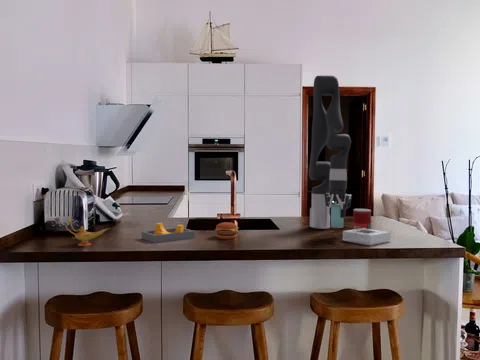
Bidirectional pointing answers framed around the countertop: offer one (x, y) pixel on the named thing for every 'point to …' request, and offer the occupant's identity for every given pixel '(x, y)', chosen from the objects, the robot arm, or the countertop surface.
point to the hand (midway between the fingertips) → (337, 216)
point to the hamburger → (226, 230)
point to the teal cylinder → (336, 216)
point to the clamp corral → (168, 235)
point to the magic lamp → (85, 234)
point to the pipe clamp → (161, 230)
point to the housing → (366, 236)
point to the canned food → (362, 218)
